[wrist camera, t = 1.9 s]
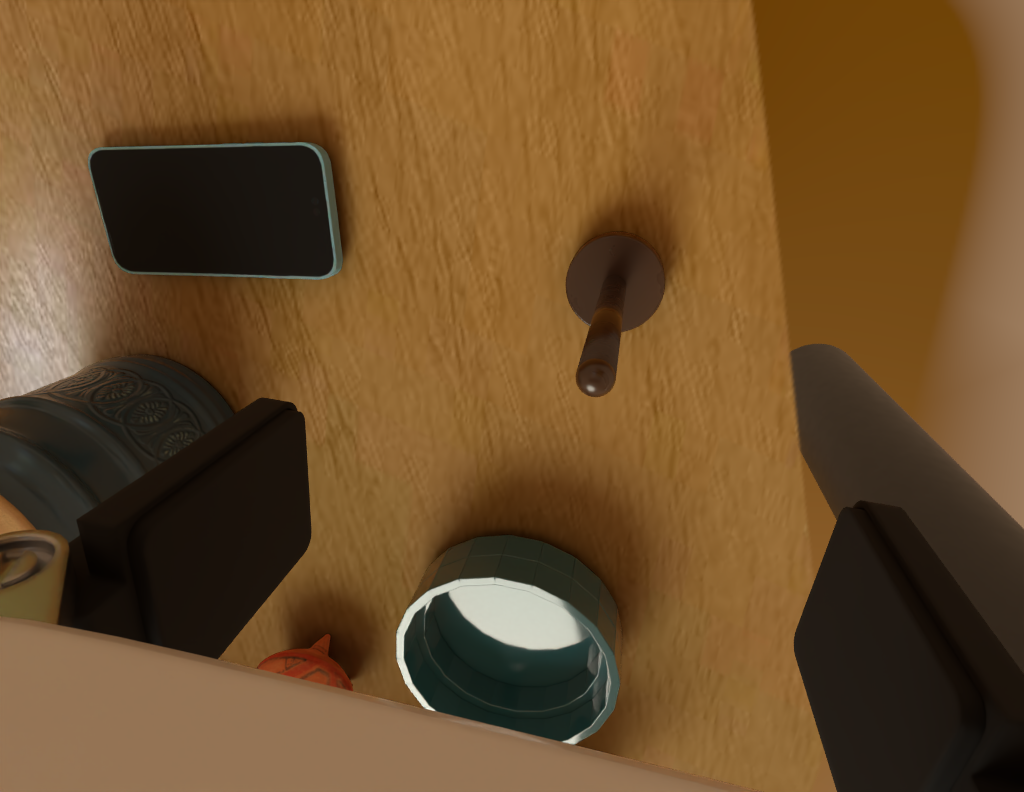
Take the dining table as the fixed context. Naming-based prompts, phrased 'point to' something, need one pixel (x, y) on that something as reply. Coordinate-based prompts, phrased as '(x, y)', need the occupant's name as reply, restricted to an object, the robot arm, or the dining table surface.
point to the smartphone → (219, 209)
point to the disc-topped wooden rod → (611, 300)
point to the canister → (96, 437)
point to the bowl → (513, 639)
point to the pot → (309, 665)
